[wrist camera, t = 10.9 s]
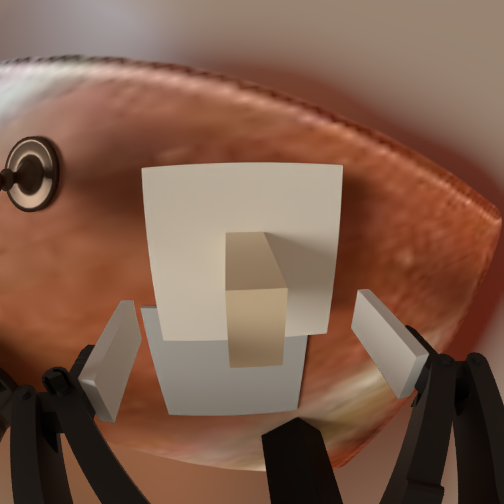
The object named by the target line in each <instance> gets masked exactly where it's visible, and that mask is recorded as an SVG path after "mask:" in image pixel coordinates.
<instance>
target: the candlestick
mask: <svg viewBox="0 0 504 504" xmlns="http://www.w3.org/2000/svg"><path fill="white" fill-rule="evenodd" d="M58 181H59V162H58V158H57V155H56V152H55V150H54V148H53V147H52V145H51V144H50V143H49V142H48V141H47V140H45V139H44V138H42V137H37V136H33V137H26V138H23V139H22V140H20V141H19V142H17V143H16V145H15V146H14V147H13V148H12V150H11V151H10V153H9V155H8V158H7V161H6V164H5V169H3V170H2V171H1V173H0V191H1V189H2V190H3V191H7V194H8V196H9V198H10V200H11V202H12V203H13V204H14V205H15V206H16V207H17V208H18V209H20V210H22V211H24V212H35V211H37V210H39V209H41V208H44V207H45V206H46V205H47V204H48V203H49V202H50V201H51V199H52V198H53V196H54V194H55V192H56V189H57V186H58Z"/></svg>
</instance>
